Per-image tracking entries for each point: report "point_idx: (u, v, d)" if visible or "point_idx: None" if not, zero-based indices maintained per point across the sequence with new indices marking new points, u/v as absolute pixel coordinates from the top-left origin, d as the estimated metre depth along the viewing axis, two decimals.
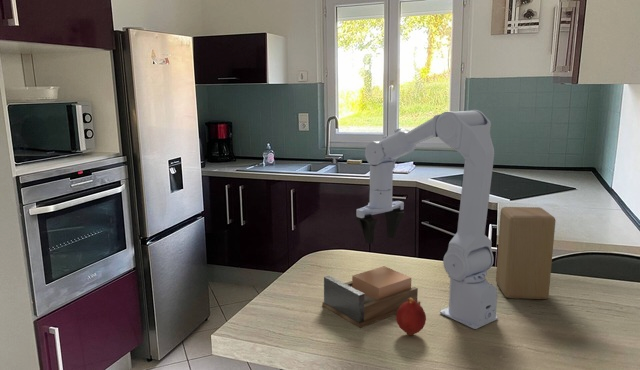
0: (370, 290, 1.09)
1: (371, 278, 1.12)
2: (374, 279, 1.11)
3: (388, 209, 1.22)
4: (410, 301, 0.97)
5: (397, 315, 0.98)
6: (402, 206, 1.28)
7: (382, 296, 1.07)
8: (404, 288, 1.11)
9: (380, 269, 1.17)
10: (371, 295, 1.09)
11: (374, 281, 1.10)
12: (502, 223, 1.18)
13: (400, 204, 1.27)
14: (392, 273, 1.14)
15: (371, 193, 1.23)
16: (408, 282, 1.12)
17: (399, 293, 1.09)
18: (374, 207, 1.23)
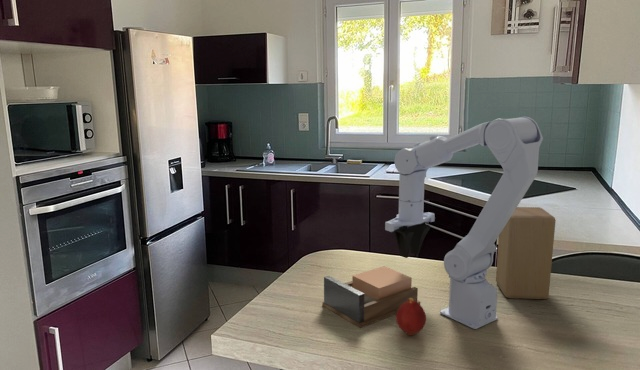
0: (370, 290, 1.09)
1: (371, 278, 1.12)
2: (374, 279, 1.11)
3: (419, 222, 1.13)
4: (410, 301, 0.97)
5: (397, 315, 0.98)
6: (433, 218, 1.19)
7: (382, 296, 1.07)
8: (404, 288, 1.11)
9: (380, 269, 1.17)
10: (371, 295, 1.09)
11: (374, 281, 1.10)
12: None
13: (431, 216, 1.18)
14: (393, 274, 1.14)
15: (401, 204, 1.14)
16: (408, 282, 1.12)
17: (399, 293, 1.09)
18: (404, 220, 1.13)
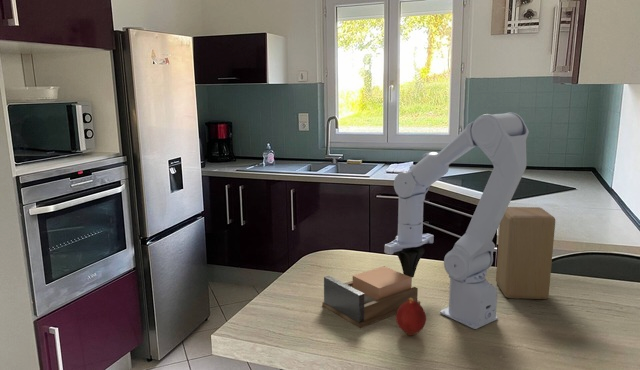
0: (370, 290, 1.09)
1: (371, 278, 1.12)
2: (374, 279, 1.11)
3: (418, 244, 1.14)
4: (410, 301, 0.97)
5: (397, 315, 0.98)
6: (432, 239, 1.20)
7: (382, 296, 1.07)
8: (404, 288, 1.11)
9: (380, 269, 1.17)
10: (371, 295, 1.09)
11: (375, 281, 1.10)
12: (502, 223, 1.18)
13: (430, 238, 1.19)
14: (393, 273, 1.14)
15: (400, 227, 1.15)
16: (408, 282, 1.12)
17: (399, 293, 1.09)
18: (403, 242, 1.14)
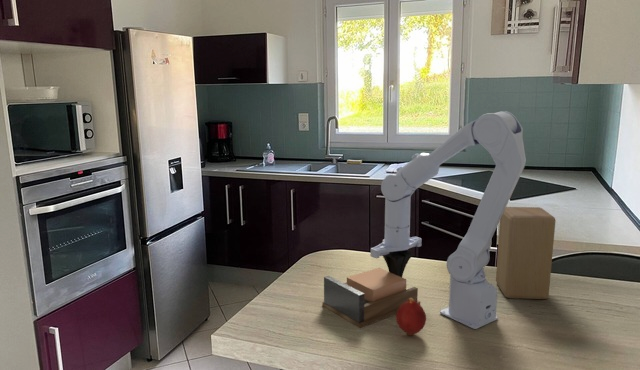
0: (364, 292, 1.08)
1: (365, 280, 1.11)
2: (368, 281, 1.10)
3: (405, 248, 1.12)
4: (410, 301, 0.97)
5: (397, 315, 0.98)
6: (420, 243, 1.17)
7: (376, 298, 1.06)
8: (399, 290, 1.10)
9: (374, 271, 1.16)
10: (365, 297, 1.08)
11: (369, 283, 1.09)
12: (502, 223, 1.18)
13: (418, 241, 1.17)
14: (387, 275, 1.13)
15: (386, 230, 1.12)
16: (403, 284, 1.11)
17: (399, 293, 1.09)
18: (390, 246, 1.12)
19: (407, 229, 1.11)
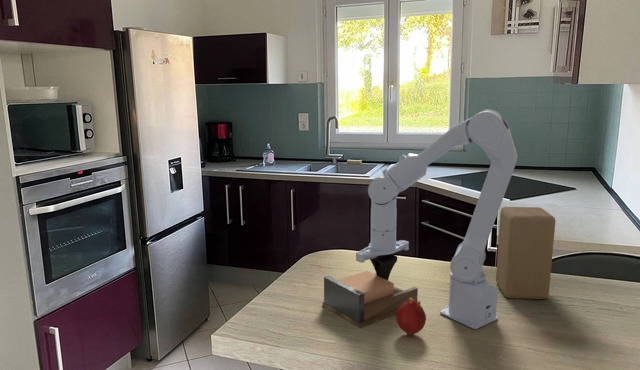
0: None
1: (352, 283, 1.09)
2: (355, 284, 1.08)
3: (391, 252, 1.09)
4: (410, 301, 0.97)
5: (397, 315, 0.98)
6: (407, 246, 1.15)
7: None
8: (386, 294, 1.08)
9: (362, 275, 1.14)
10: None
11: (355, 287, 1.07)
12: (502, 223, 1.18)
13: (405, 244, 1.14)
14: (375, 279, 1.11)
15: (372, 234, 1.10)
16: (390, 288, 1.09)
17: (399, 293, 1.09)
18: (376, 249, 1.09)
19: (393, 232, 1.09)
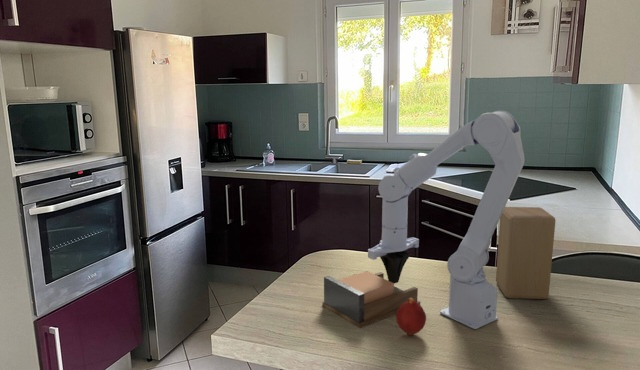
0: None
1: (352, 284, 1.09)
2: (355, 285, 1.08)
3: (403, 249, 1.11)
4: (410, 301, 0.97)
5: (397, 315, 0.98)
6: (417, 244, 1.17)
7: None
8: (386, 294, 1.08)
9: (362, 275, 1.14)
10: None
11: (355, 287, 1.07)
12: (502, 223, 1.18)
13: (415, 242, 1.16)
14: (375, 279, 1.11)
15: (384, 231, 1.12)
16: (390, 288, 1.09)
17: (399, 293, 1.09)
18: (387, 247, 1.11)
19: (404, 230, 1.11)
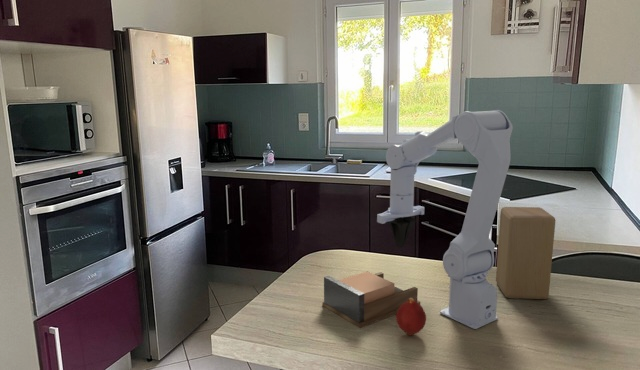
0: None
1: (353, 284, 1.09)
2: (356, 285, 1.08)
3: (409, 214, 1.20)
4: (410, 301, 0.97)
5: (397, 315, 0.98)
6: (423, 211, 1.25)
7: None
8: (387, 294, 1.08)
9: (362, 275, 1.14)
10: None
11: (356, 287, 1.07)
12: (502, 223, 1.18)
13: (421, 209, 1.25)
14: (375, 279, 1.11)
15: (392, 198, 1.20)
16: (391, 288, 1.09)
17: (399, 293, 1.09)
18: (395, 212, 1.20)
19: (411, 197, 1.19)
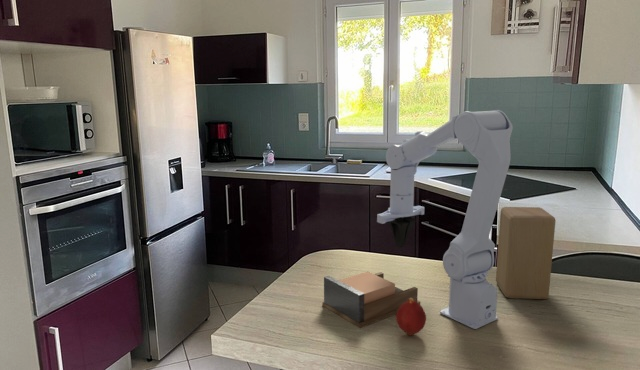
0: None
1: (353, 284, 1.08)
2: (356, 285, 1.08)
3: (409, 214, 1.20)
4: (410, 301, 0.97)
5: (397, 315, 0.98)
6: (423, 211, 1.25)
7: (364, 303, 1.04)
8: (387, 295, 1.08)
9: (363, 275, 1.14)
10: None
11: (356, 287, 1.07)
12: (502, 223, 1.18)
13: (421, 209, 1.25)
14: (376, 279, 1.11)
15: (392, 198, 1.20)
16: (391, 288, 1.08)
17: (399, 293, 1.09)
18: (395, 212, 1.20)
19: (411, 197, 1.19)
